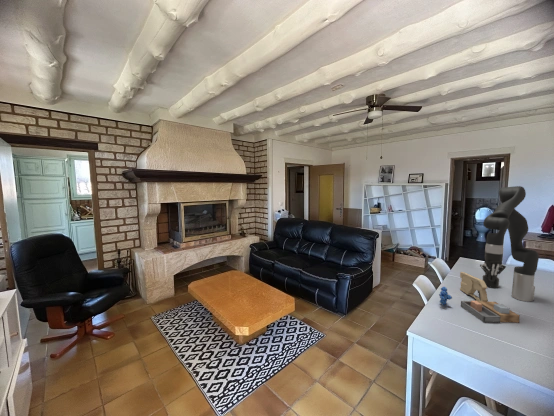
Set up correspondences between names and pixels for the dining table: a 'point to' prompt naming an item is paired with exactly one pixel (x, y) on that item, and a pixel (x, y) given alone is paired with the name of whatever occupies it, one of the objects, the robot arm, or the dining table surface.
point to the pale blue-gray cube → (501, 308)
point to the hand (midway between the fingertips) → (491, 280)
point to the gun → (473, 286)
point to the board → (504, 317)
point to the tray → (481, 313)
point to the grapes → (444, 296)
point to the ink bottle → (491, 283)
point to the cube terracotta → (476, 306)
